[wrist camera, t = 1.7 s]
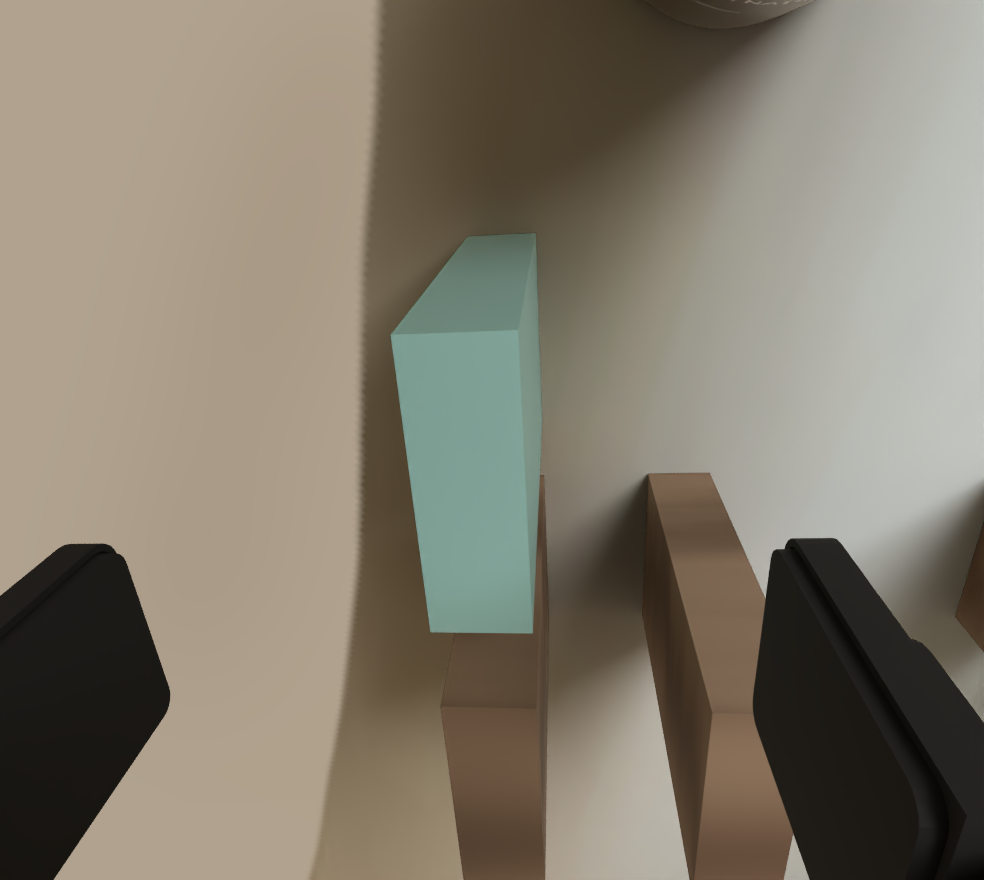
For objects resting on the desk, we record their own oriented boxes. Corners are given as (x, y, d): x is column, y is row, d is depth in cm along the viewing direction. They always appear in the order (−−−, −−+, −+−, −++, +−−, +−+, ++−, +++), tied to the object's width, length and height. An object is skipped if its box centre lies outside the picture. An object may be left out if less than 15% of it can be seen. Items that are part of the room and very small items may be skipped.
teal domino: (467, 236, 19) (390, 335, 10) (535, 232, 19) (518, 330, 10) (482, 423, 22) (430, 632, 13) (542, 421, 22) (533, 633, 13)
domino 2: (648, 473, 22) (712, 713, 13) (709, 473, 22) (816, 715, 13) (642, 614, 25) (692, 895, 16) (696, 614, 24) (779, 899, 15)
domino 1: (485, 476, 23) (440, 706, 14) (544, 475, 22) (536, 708, 13) (496, 613, 25) (464, 882, 16) (548, 613, 25) (545, 886, 16)
